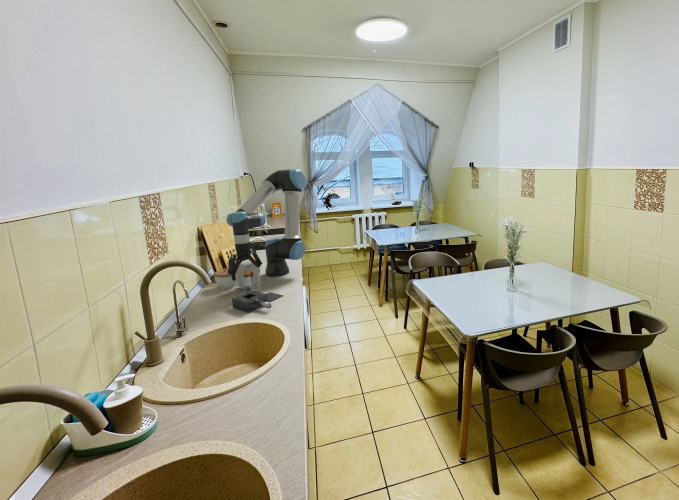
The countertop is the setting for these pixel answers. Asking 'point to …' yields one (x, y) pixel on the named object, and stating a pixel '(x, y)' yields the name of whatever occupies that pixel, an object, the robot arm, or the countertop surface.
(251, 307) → the block
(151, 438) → the countertop surface
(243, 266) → the supplement box
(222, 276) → the lidded bowl
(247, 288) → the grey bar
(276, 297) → the mat
